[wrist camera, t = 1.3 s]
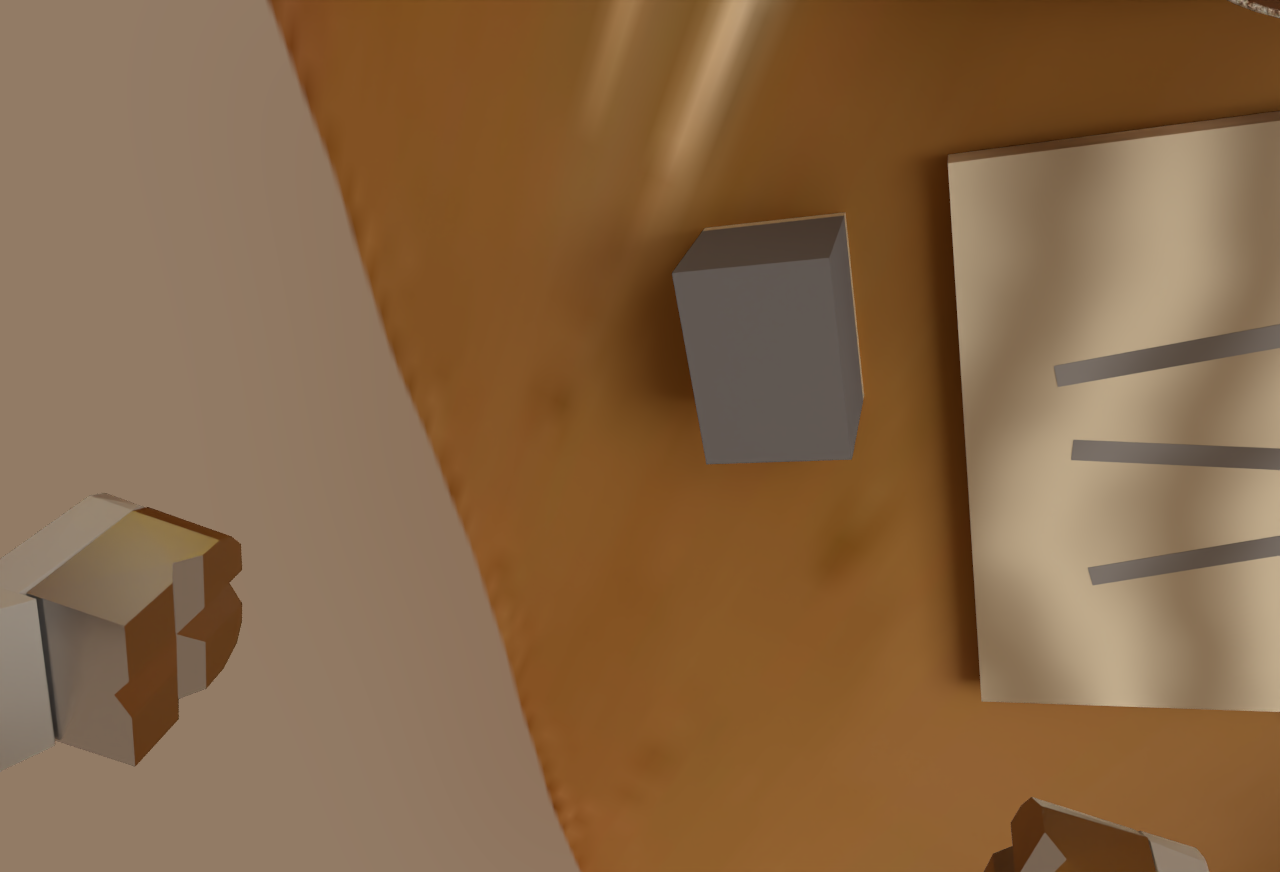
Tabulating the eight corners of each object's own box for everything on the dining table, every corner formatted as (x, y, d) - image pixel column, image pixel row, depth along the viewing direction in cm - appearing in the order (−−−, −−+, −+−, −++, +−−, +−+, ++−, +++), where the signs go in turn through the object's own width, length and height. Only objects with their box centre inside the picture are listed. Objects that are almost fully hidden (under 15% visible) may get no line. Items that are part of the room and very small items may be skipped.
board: (1556, 74, 28) (1578, 82, 27) (1440, 694, 37) (1454, 718, 36) (948, 154, 33) (947, 163, 32) (981, 681, 43) (981, 701, 42)
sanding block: (845, 211, 35) (829, 257, 31) (864, 394, 38) (851, 459, 34) (705, 227, 37) (671, 273, 33) (733, 401, 40) (706, 464, 36)
